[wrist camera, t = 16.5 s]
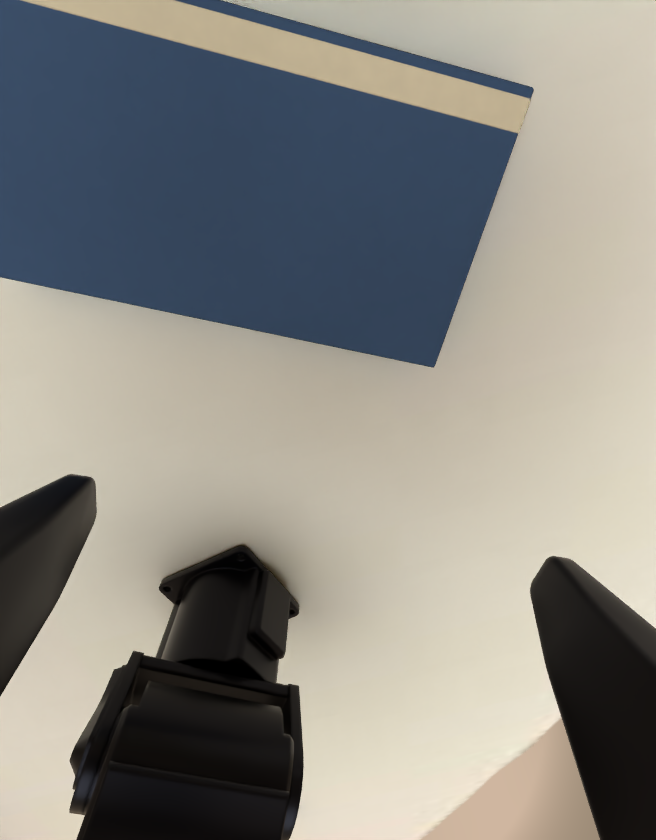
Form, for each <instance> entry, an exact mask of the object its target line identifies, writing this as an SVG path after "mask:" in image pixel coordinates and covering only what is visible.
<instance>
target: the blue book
mask: <svg viewBox="0 0 656 840" xmlns="http://www.w3.org/2000/svg"><path fill="white" fill-rule="evenodd" d="M533 90H534V89H533V88H532V87H529V86H526V85H522V84H519V83H515V82H512V81H508V80H504V79H501V78H497V77H494V76H490V75H486V74H483V73H479V72H476V71H472V70H469V69H465V68H461V67H458V66H454V65H451V64H447V63H444V62H440V61H436V60H433V59H429V58H426V57H422V56H418V55H415V54H411V53H408V52H404V51H401V50H397V49H393V48H390V47H386V46H383V45H379V44H376V43H372V42H368V41H365V40H361V39H358V38H354V37H350V36H347V35H343V34H340V33H336V32H333V31H329V30H325V29H322V28H318V27H315V26H311V25H307V24H304V23H300V22H297V21H293V20H290V19H286V18H282V17H279V16H275V15H272V14H268V13H265V12H261V11H257V10H254V9H250V8H247V7H243V6H239V5H236V4H232V3H229V2H225V1H222V0H0V277H2V278H7V279H12V280H16V281H21V282H26V283H31V284H36V285H40V286H45V287H50V288H55V289H60V290H64V291H69V292H74V293H79V294H84V295H88V296H93V297H98V298H103V299H107V300H112V301H117V302H122V303H127V304H131V305H136V306H141V307H146V308H151V309H155V310H160V311H165V312H170V313H175V314H179V315H184V316H189V317H194V318H199V319H203V320H208V321H213V322H218V323H222V324H227V325H232V326H237V327H242V328H246V329H251V330H256V331H261V332H266V333H270V334H275V335H280V336H285V337H290V338H294V339H299V340H304V341H309V342H313V343H318V344H323V345H328V346H333V347H337V348H342V349H347V350H352V351H357V352H361V353H366V354H371V355H376V356H381V357H385V358H390V359H395V360H400V361H405V362H409V363H414V364H419V365H424V366H428V367H434V366H435V364H436V361H437V358H438V356H439V353H440V350H441V347H442V344H443V342H444V339H445V336H446V333H447V330H448V328H449V325H450V322H451V319H452V317H453V314H454V311H455V308H456V305H457V303H458V300H459V297H460V294H461V291H462V289H463V286H464V283H465V280H466V278H467V275H468V272H469V269H470V266H471V264H472V261H473V258H474V255H475V252H476V250H477V247H478V244H479V241H480V239H481V236H482V233H483V230H484V227H485V225H486V222H487V219H488V216H489V213H490V211H491V208H492V205H493V202H494V200H495V197H496V194H497V191H498V188H499V186H500V183H501V180H502V177H503V174H504V172H505V169H506V166H507V163H508V160H509V158H510V155H511V152H512V149H513V147H514V144H515V141H516V138H517V135H518V133H519V132H520V129H521V126H522V123H523V120H524V118H525V115H526V112H527V109H528V107H529V104H530V101H531V96H532V94H533Z"/></svg>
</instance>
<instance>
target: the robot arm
mask: <svg viewBox="0 0 656 840" xmlns="http://www.w3.org/2000/svg"><path fill="white" fill-rule="evenodd" d="M96 513H97V508H96V486H95V481H94V479H93V478H91V477H87V476H81V475H75V474H70V475H67V476H64V477H62V478H60V479H58V480H56V481H54V482H52V483H50V484H48V485H46V486H44V487H42V488H40V489H38V490H35V491H33V492H31V493H29V494H27V495H25V496H23V497H21V498H19V499H17V500H15V501H13V502H11V503H9V504H7V505H5V506H2V507H0V696H1V694H2V693H3V691H4V689H5V688H6V686H7V684H8V683H9V681H10V679H11V678H12V676H13V674H14V673H15V671H16V669H17V668H18V666H19V664H20V663H21V661H22V659H23V658H24V656H25V655H26V653H27V651H28V650H29V648H30V646H31V645H32V643H33V641H34V640H35V638H36V636H37V635H38V633H39V631H40V630H41V628H42V626H43V625H44V623H45V621H46V620H47V618H48V616H49V615H50V613H51V611H52V610H53V608H54V606H55V604H56V603H57V601H58V599H59V597H60V595H61V593H62V591H63V589H64V587H65V585H66V583H67V581H68V579H69V576H70V574H71V572H72V570H73V568H74V566H75V563H76V561H77V559H78V557H79V555H80V553H81V550H82V548H83V546H84V544H85V542H86V540H87V537H88V535H89V533H90V531H91V529H92V527H93V524H94V522H95V518H96ZM239 554H242V555H239ZM159 590H160V591H161V592H162V593H163V594H164V595H165V596H166V597H167V598H168V599H169V600H170V601H171V602H172V603H174V607H173V610H172V613H171V615H170V618H169V621H168V624H167V627H166V630H165V632H164V635H163V638H162V641H161V644H160V646H159V649H158V652H157V655H156V658H155V657H150V656H145V655H144V653H141V652H136V651H133V653H132V655H131V657H130V659H129V661H128V663H127V665H126V666H125V665H123V666H122V667H121V668H118V669H115V670H114V671H113V674H112V676H111V678H110V681H109V683H108V685H107V688H106V690H105V692H104V694H103V697H102V699H101V701H100V703H99V705H98V707H97V709H96V710H95V712H94V714H93V716H92V717H91V719H90V721H89V723H88V724H87V726H86V728H85V729H84V731H83V733H82V735H81V736H80V738H79V740H78V742H77V743H76V745H75V747H74V750H73V752H72V755H71V758H70V763H71V766H72V769H73V771H74V774H75V781H74V784H73V789H74V790H75V792H74V795H73V798H72V802H71V806H70V813H74V814H81V815H85V817H84V820H83V823H82V826H81V828H80V831H79V834H78V837H77V840H289V838H290V836H291V834H292V831H293V828H294V825H295V821H296V818H297V813H298V808H299V803H300V797H301V790H302V780H303V743H302V727H301V712H300V696H299V686H297V685H292V684H288V685H283V684H278V683H276V682H277V672H278V663H279V659H281V658H283V657H284V655H285V650H286V640H287V629H288V619H290V618H292V617H295V616H297V615H298V613H299V605H298V603H297V602H296V601H295V600H294V599H293V598H292V597H291V595H290V594H289V592H288V591H287V590H286V589H285V588H284V587H283V586H282V585H281V583H280V582H279V581H278V580H277V579H276V578H275V577H274V576H273V575H272V573H271V572H270V571H268V570H267V569H266V568H265V567H264V565H263V564H262V563H261V562H260V561H259V560H258V559H257V558H256V556H255V555H254V554H253V553H252V552H251V551H250V550H249V549H248V548H247V547H244V546H238V547H236V548H233V549H231V550H229V551H226V552H224V553H222V554H220V555H217V556H215V557H213V558H211V559H208V560H206V561H204V562H201V563H199V564H197V565H195V566H192V567H190V568H188V569H186V570H183V571H181V572H179V573H176V574H174V575H172V576H170V577H167V578H165V579H163V580H162V581H161V584H160V586H159ZM530 594H531V599H532V604H533V609H534V614H535V618H536V623H537V628H538V632H539V637H540V642H541V646H542V651H543V656H544V660H545V664H546V668H547V672H548V675H549V679H550V682H551V685H552V688H553V692H554V695H555V698H556V701H557V704H558V707H559V711H560V714H561V717H562V720H563V723H564V726H565V729H566V733H567V736H568V739H569V742H570V745H571V749H572V752H573V755H574V758H575V761H576V764H577V768H578V771H579V774H580V777H581V780H582V783H583V787H584V790H585V793H586V796H587V799H588V803H589V806H590V809H591V812H592V815H593V818H594V821H595V825H596V828H597V831H598V834H599V837H600V840H656V629H655V628H654V627H653V626H652V625H651V624H649V623H648V622H647V621H646V620H645V619H643V618H642V617H641V616H640V615H638V614H637V613H636V612H635V611H634V610H632V609H631V608H630V607H629V606H628V605H626V604H625V603H624V602H623V601H621V600H620V599H619V598H618V597H617V596H615V595H614V594H613V593H612V592H610V591H609V590H608V589H607V588H606V587H604V586H603V585H602V584H601V583H600V582H598V581H597V580H596V579H595V578H593V577H592V576H591V575H590V574H589V573H587V572H586V571H585V570H584V569H583V568H581V567H580V566H579V565H578V564H576V563H575V562H574V561H573V560H571V559H568V558H562V557H556V556H551V557H549V558H547V559H546V561H545V562H544V564H543V565H542V567H541V568H540V570H539V572H538V573H537V575H536V576H535V578H534V579H533V581H532V583H531V588H530Z"/></svg>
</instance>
